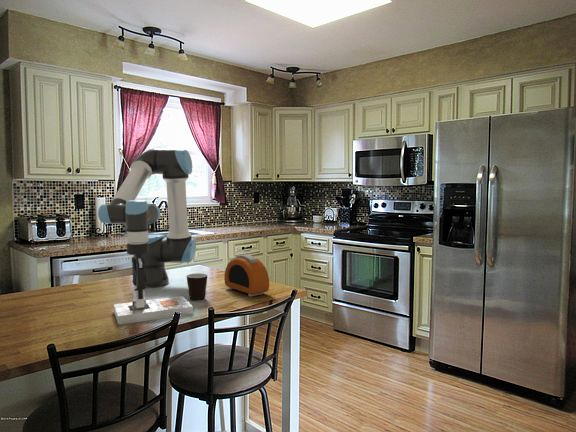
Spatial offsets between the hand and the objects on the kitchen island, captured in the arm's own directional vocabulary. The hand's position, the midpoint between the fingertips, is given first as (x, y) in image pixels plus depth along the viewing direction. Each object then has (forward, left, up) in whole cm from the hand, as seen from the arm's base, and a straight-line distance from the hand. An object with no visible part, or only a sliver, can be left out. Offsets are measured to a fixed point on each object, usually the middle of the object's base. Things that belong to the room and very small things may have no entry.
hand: (139, 304), depth 156 cm
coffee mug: (-13, +26, -4) cm, 29 cm away
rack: (0, +5, -4) cm, 6 cm away
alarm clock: (-14, +48, -4) cm, 50 cm away
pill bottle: (0, 0, -4) cm, 4 cm away
